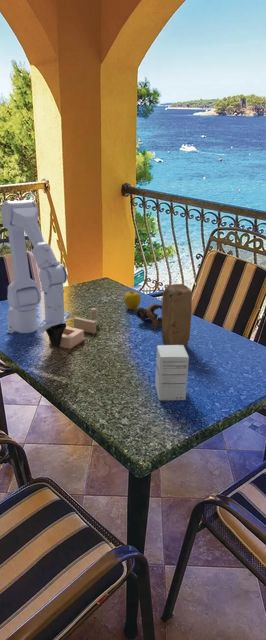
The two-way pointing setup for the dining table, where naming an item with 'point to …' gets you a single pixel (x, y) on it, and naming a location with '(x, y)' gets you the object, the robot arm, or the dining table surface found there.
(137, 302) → the apple
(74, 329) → the sliding block
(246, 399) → the dining table surface
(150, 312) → the dark brown irregular piece
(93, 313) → the dowel
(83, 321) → the base board
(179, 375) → the supplement box
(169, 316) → the block
